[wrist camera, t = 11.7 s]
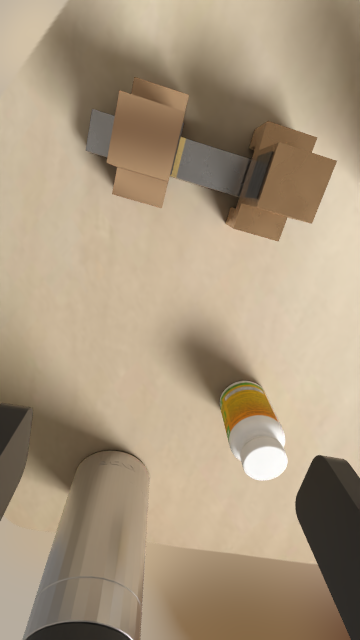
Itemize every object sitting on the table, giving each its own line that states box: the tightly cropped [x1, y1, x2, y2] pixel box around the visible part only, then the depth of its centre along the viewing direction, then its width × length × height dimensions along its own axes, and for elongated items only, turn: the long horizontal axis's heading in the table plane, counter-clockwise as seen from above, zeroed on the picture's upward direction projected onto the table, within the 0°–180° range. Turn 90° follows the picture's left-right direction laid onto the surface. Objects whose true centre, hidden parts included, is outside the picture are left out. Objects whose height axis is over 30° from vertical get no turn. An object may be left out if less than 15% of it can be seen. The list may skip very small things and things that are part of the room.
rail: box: [86, 109, 337, 241], centre depth 26 cm, size 8×20×9 cm, turn 74°
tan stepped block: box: [107, 77, 189, 208], centre depth 25 cm, size 8×4×9 cm, turn 165°
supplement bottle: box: [220, 381, 288, 480], centre depth 34 cm, size 5×5×10 cm
